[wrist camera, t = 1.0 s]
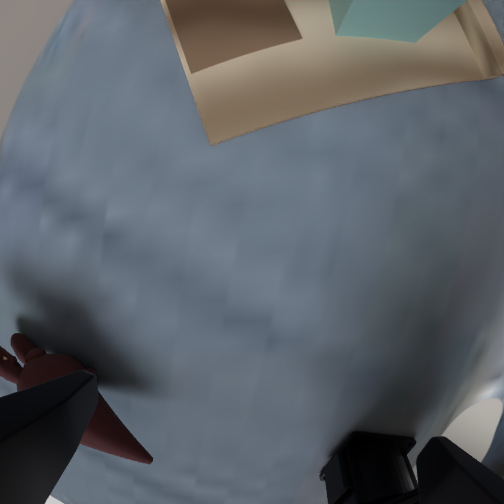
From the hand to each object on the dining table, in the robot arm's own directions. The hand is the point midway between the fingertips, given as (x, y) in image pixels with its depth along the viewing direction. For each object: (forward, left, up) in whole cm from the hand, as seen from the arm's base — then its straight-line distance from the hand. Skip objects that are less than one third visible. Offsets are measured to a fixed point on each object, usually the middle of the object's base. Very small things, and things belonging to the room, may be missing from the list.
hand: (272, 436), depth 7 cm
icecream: (+11, +13, -12) cm, 21 cm away
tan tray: (+2, -18, -12) cm, 22 cm away
